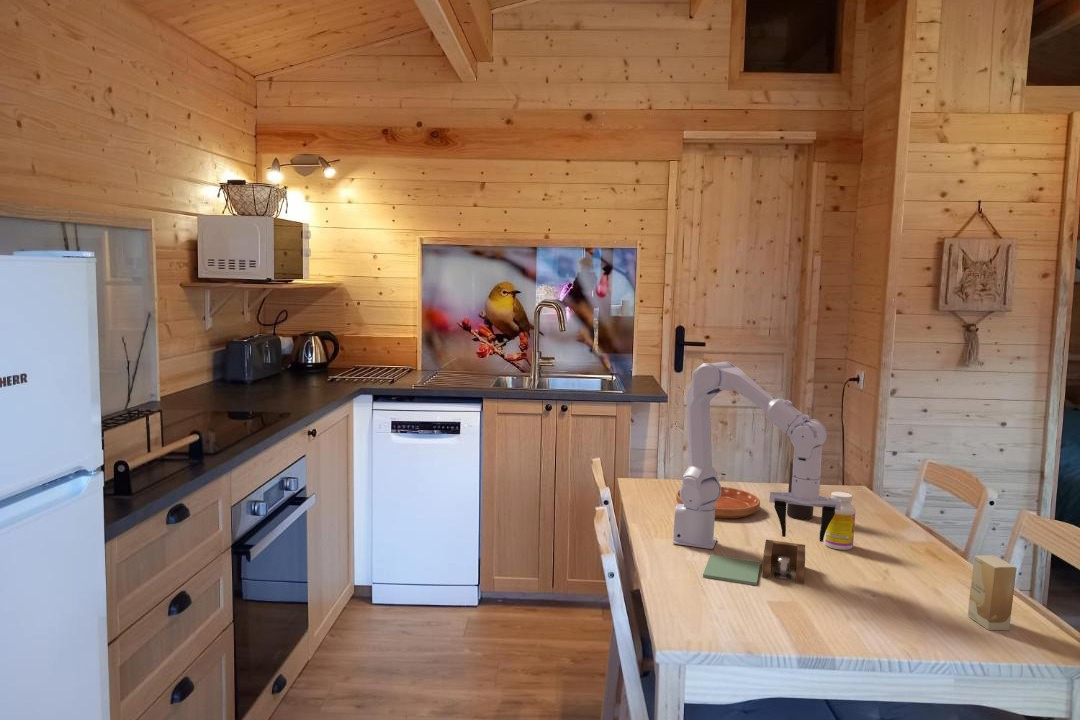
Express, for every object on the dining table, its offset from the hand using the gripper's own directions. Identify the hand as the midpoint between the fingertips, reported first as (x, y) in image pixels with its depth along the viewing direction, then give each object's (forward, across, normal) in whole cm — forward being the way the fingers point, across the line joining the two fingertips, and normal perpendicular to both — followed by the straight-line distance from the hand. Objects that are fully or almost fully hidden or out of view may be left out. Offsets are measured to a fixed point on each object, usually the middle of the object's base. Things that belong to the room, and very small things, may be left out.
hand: (802, 537), depth 163 cm
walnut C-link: (+8, -4, -2) cm, 9 cm away
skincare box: (+8, +34, -13) cm, 37 cm away
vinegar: (+8, 0, +44) cm, 45 cm away
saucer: (+8, -22, +42) cm, 48 cm away
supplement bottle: (+8, +8, +22) cm, 25 cm away
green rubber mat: (+8, -14, -6) cm, 17 cm away
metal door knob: (+8, -4, -4) cm, 10 cm away
